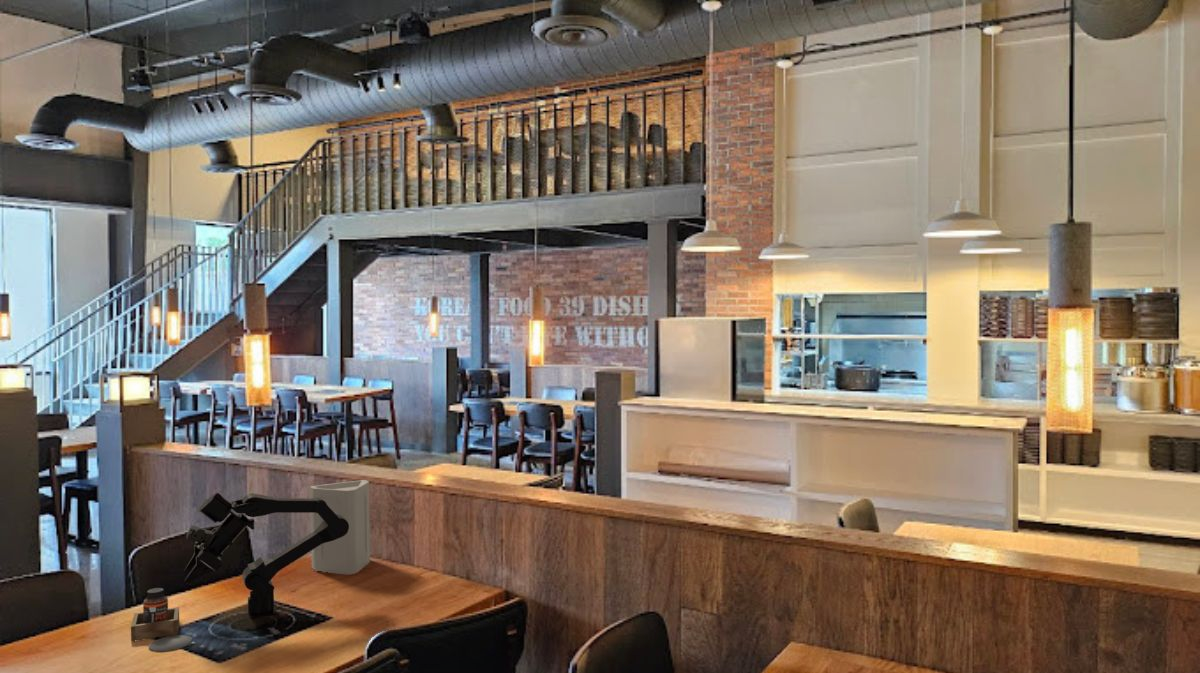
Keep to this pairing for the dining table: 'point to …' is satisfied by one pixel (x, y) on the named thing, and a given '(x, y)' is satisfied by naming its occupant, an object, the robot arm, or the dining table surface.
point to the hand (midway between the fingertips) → (185, 577)
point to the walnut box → (155, 626)
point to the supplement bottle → (155, 606)
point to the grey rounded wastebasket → (355, 545)
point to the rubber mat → (170, 643)
